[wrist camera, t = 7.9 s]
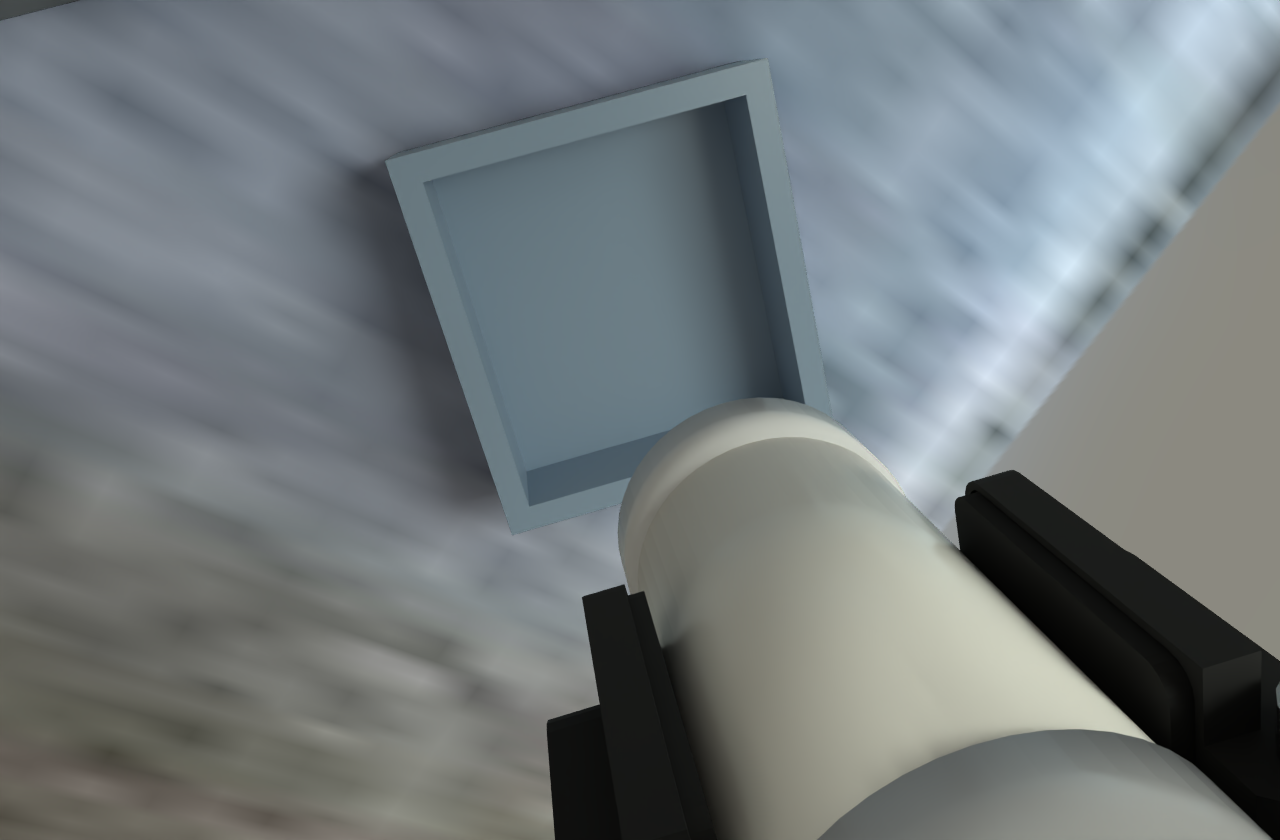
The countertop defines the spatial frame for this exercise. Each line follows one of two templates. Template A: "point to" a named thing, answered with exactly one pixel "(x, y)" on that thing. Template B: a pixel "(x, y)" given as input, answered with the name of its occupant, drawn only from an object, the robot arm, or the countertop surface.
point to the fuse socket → (26, 6)
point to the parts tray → (613, 278)
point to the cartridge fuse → (871, 658)
